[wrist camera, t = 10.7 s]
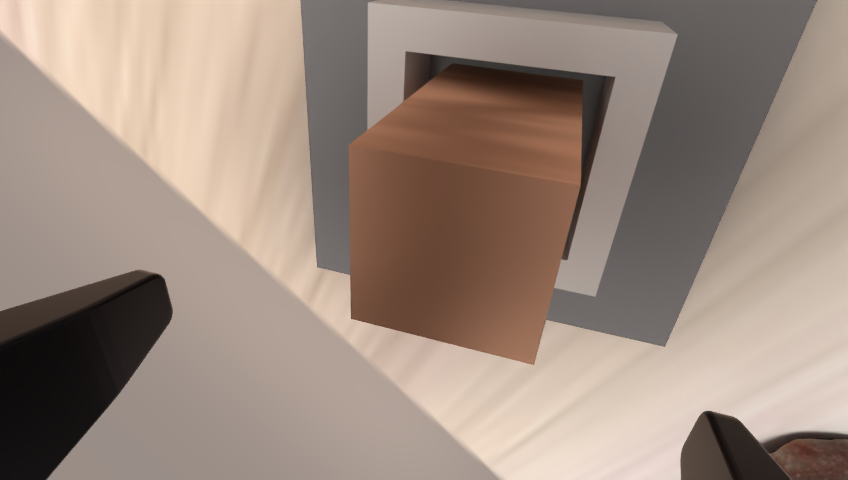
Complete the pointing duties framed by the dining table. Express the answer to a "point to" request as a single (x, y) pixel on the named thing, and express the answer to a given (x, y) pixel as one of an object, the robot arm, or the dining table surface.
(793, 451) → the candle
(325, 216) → the socket
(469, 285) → the peg
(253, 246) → the dining table surface
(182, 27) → the dining table surface
